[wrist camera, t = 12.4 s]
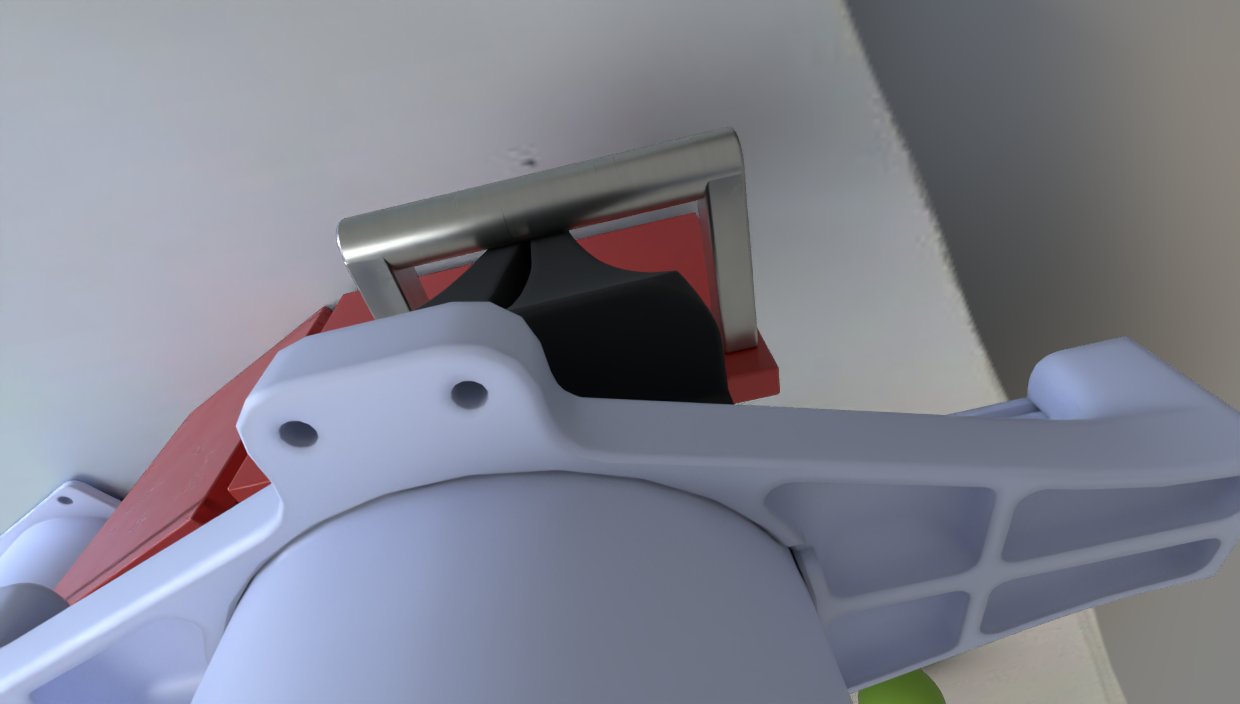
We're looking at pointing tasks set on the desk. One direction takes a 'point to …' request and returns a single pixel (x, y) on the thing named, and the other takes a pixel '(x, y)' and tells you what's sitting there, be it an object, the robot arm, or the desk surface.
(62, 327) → the desk surface
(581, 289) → the robot arm
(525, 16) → the desk surface
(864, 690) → the snail figurine
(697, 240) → the red drawer
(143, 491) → the cabinet
